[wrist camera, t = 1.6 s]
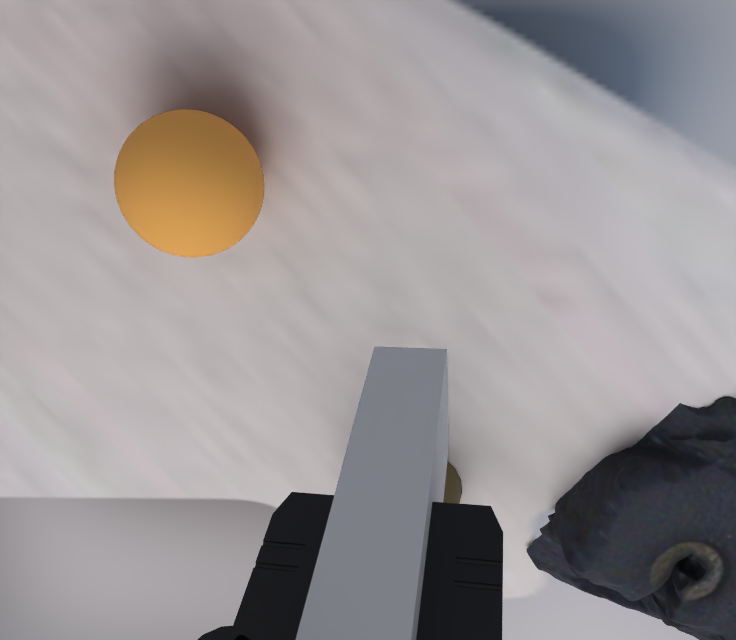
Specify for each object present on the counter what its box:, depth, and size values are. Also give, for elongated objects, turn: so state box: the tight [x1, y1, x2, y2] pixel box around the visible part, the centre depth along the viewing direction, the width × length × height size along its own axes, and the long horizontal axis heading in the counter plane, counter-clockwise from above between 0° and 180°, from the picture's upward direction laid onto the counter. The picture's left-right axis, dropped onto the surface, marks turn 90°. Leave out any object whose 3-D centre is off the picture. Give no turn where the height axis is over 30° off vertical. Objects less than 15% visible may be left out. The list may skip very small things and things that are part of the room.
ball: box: [114, 109, 264, 257], centre depth 26 cm, size 6×6×6 cm
